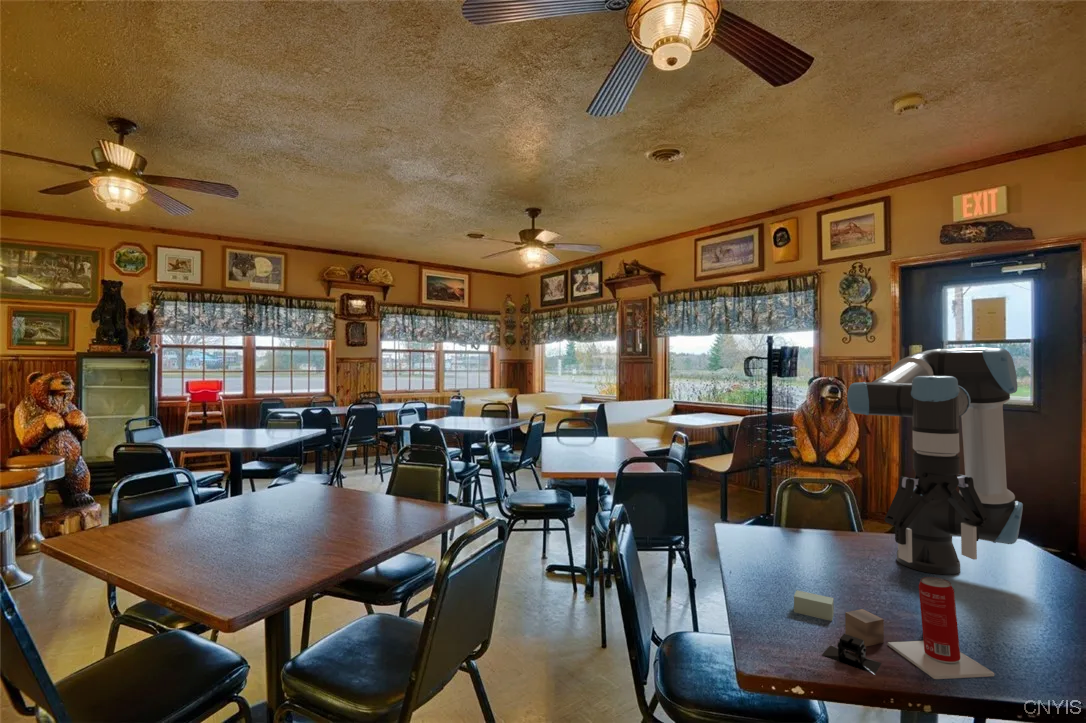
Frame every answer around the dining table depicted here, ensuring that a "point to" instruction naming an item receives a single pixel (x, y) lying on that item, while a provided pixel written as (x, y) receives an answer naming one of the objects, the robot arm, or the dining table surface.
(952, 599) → the beverage can
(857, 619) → the walnut block
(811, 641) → the dining table surface
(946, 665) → the tile
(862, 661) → the black angular piece
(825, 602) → the sage brick
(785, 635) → the dining table surface
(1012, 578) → the dining table surface
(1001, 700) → the dining table surface
